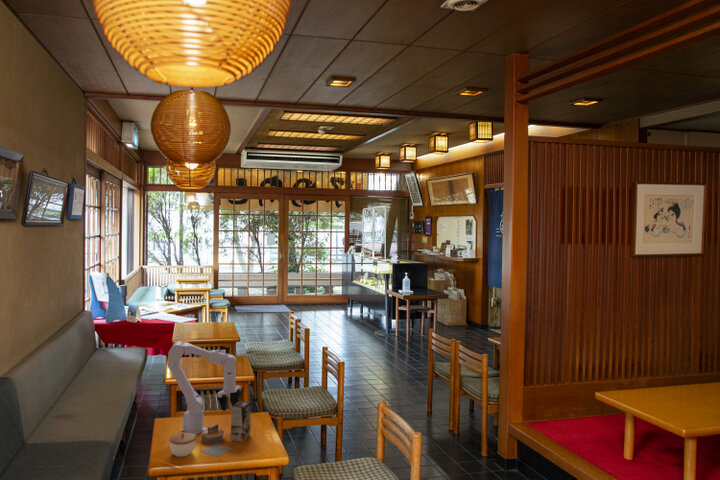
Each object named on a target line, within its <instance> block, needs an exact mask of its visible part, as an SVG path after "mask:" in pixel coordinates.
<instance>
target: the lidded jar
mask: <svg viewBox="0 0 720 480" xmlns="http://www.w3.org/2000/svg"><path fill="white" fill-rule="evenodd" d="M196 438H197V437H196V434H192V433H188V432H180V433H179V432H178V433H174V434H173V435H171V436H170V437H169V447H170V448H169V449H170V451H171V453H172V454H173V455H174V456H175V457H177V458H183V457H187V456H189V455H190V454H192V452H193V451H194V449H195V446H196Z"/></svg>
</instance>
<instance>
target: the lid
mask: <svg viewBox="0 0 720 480" xmlns="http://www.w3.org/2000/svg"><path fill="white" fill-rule="evenodd" d="M222 435H223V436H224V435H225V431H224V430H223V429H222V428H219V423H213V424H212V425H211V424H210V425H208V426H207V430H204V431H203V432H201V437H202V436H203V437H206V438H216V437H220V436H222Z"/></svg>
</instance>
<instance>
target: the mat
mask: <svg viewBox="0 0 720 480" xmlns="http://www.w3.org/2000/svg"><path fill="white" fill-rule="evenodd" d="M233 449H234V448H232V447H229V446H225V445H222V444H219V443H213V445H210V446H209V447H205V448H204V449H203V450H200V451H199V452H200V453H203V454H207V455H211V456H213V457H216V458H218V457H220V456H222V455H224V454H225V453H227V452H229V451H231V450H233Z"/></svg>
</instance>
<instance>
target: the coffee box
mask: <svg viewBox="0 0 720 480" xmlns="http://www.w3.org/2000/svg"><path fill="white" fill-rule="evenodd" d="M230 417H231V419H230V441H235V442H236V441H237V442H244V441H245V440H246V439H247V438H248V437H250V436H251V431H252V430H251V427H252V426H251V425H252V424H251V423H252V402H251V401H245V400H244V401H243V400H242V401H241V400H238V402H237V403H236V404H235V405H232V406H231V416H230Z"/></svg>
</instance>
